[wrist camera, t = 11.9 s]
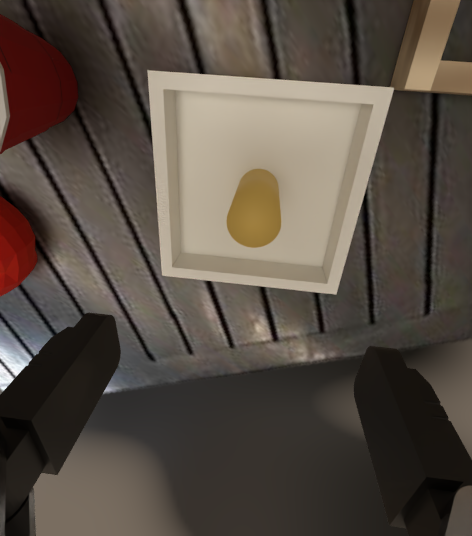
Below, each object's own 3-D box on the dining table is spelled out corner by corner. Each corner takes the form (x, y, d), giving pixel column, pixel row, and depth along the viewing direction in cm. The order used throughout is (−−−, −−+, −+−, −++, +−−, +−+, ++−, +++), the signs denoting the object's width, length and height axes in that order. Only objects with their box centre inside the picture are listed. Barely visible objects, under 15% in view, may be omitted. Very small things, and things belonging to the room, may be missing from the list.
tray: (165, 74, 23) (147, 70, 20) (375, 88, 22) (394, 87, 19) (174, 255, 31) (162, 275, 28) (328, 271, 31) (336, 294, 27)
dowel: (239, 167, 25) (227, 193, 18) (281, 170, 25) (285, 198, 18) (237, 207, 27) (225, 245, 20) (275, 210, 27) (277, 250, 20)
